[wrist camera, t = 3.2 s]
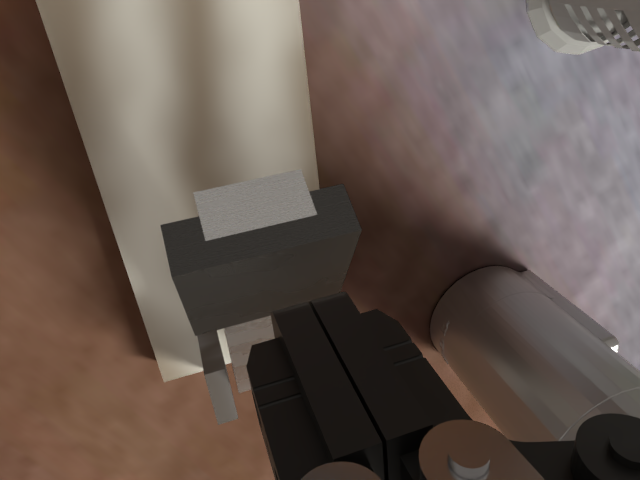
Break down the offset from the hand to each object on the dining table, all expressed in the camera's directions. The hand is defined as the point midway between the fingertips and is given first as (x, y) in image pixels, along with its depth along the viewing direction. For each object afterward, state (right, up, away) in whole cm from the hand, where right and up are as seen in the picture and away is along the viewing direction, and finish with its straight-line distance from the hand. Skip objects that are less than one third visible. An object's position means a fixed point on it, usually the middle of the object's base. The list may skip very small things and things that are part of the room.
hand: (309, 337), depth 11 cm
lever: (-3, -1, +13) cm, 13 cm away
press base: (-6, +5, +21) cm, 23 cm away
